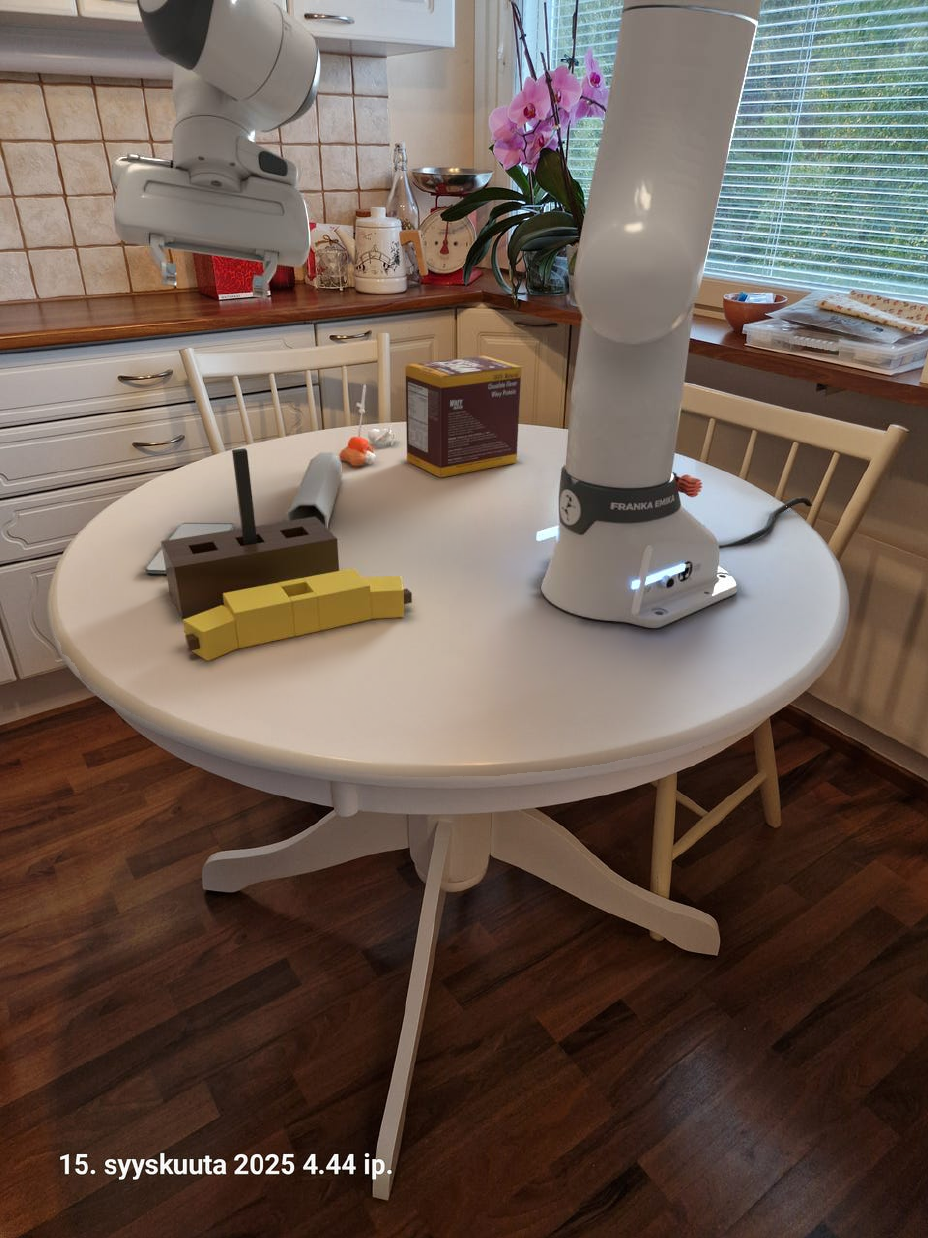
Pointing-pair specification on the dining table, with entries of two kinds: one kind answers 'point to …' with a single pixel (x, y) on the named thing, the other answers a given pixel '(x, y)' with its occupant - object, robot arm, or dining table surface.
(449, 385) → the supplement box
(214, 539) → the cutlery block
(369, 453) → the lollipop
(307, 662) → the dining table surface
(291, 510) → the tube
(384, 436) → the white bird figurine
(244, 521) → the dark grey stepped rod
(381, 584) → the banana
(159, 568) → the smartphone
